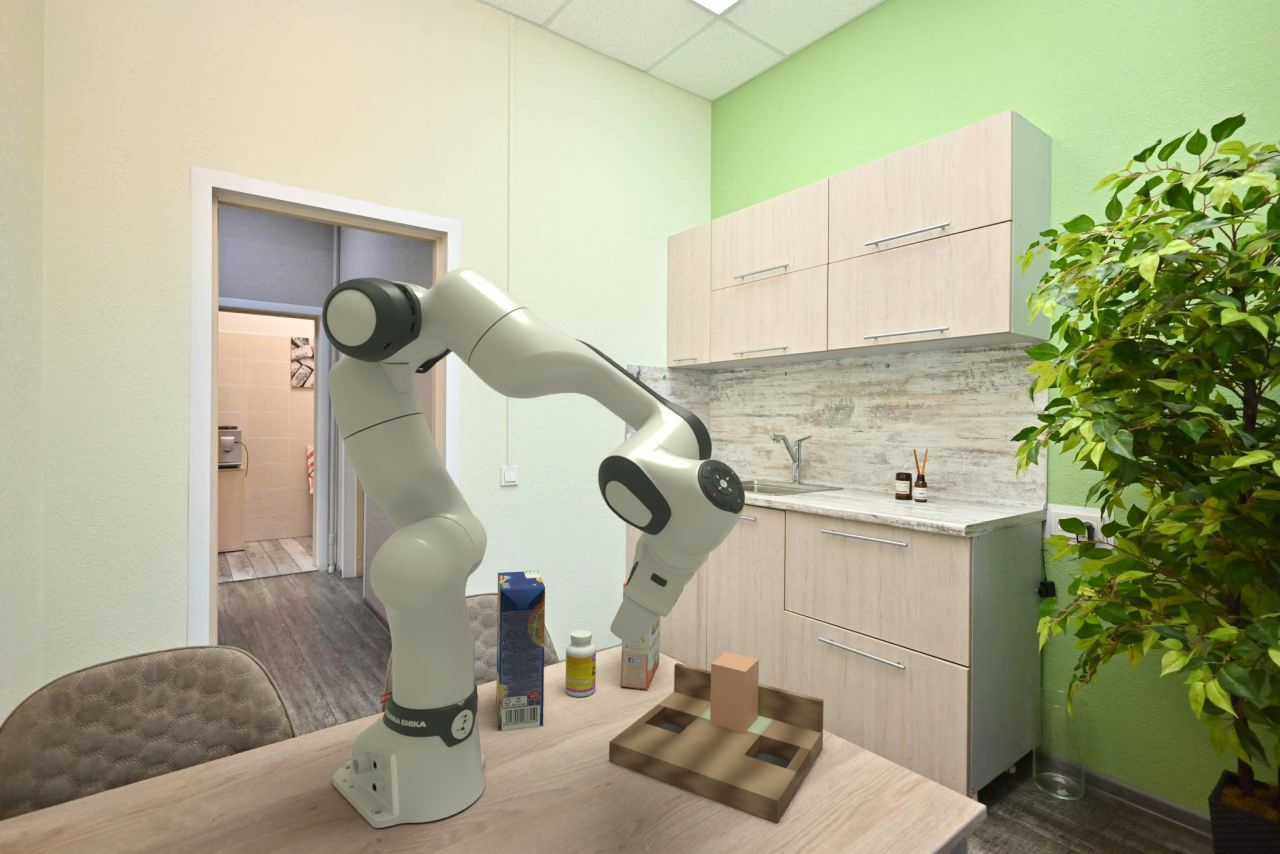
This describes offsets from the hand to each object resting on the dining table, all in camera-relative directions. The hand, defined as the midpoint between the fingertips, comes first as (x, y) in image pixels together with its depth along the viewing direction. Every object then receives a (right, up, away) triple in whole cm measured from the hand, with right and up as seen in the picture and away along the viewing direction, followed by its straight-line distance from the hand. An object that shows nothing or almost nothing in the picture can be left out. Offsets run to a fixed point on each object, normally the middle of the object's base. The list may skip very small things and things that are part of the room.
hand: (632, 598), depth 92 cm
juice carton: (-21, -26, +18) cm, 38 cm away
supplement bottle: (-10, -26, +27) cm, 39 cm away
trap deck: (+14, -26, +5) cm, 30 cm away
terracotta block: (+17, -23, +10) cm, 30 cm away
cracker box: (+1, -26, +35) cm, 44 cm away
